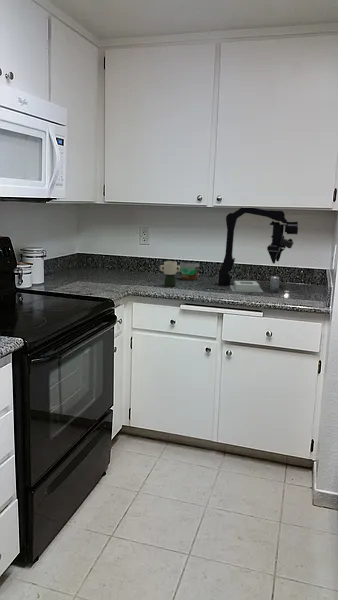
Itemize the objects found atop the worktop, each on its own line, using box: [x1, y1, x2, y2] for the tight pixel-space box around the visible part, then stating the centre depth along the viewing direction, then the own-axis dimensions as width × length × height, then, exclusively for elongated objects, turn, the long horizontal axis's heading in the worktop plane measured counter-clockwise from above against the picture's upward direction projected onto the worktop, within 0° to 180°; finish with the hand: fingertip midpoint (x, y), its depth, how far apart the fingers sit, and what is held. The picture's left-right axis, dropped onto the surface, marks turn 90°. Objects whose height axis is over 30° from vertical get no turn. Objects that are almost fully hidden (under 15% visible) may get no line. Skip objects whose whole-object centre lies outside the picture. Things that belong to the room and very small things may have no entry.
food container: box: [179, 261, 200, 281], centre depth 287 cm, size 12×6×10 cm, turn 65°
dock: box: [229, 280, 264, 294], centre depth 263 cm, size 16×16×4 cm
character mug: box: [159, 260, 181, 287], centre depth 268 cm, size 11×7×13 cm, turn 86°
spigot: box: [269, 275, 280, 294], centre depth 257 cm, size 4×4×8 cm
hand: (275, 262), depth 268 cm, fingers open, 9 cm apart
